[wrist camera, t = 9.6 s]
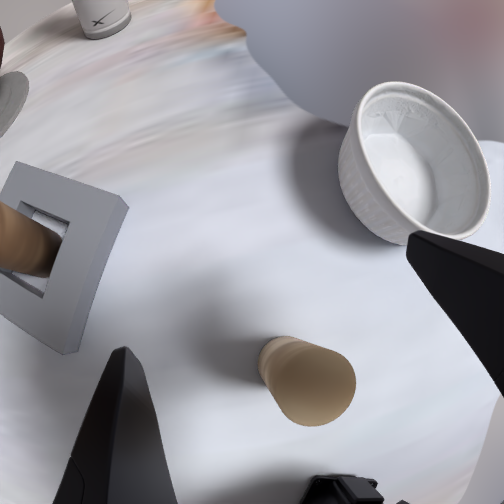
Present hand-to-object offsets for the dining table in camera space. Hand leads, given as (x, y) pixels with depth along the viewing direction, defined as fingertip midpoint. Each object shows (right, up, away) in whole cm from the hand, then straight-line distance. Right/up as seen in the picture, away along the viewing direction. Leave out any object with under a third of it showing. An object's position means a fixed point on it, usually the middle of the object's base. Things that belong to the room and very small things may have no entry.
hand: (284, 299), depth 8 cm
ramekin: (+12, +7, +17) cm, 22 cm away
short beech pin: (+2, -7, +13) cm, 15 cm away
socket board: (-18, +1, +12) cm, 22 cm away
